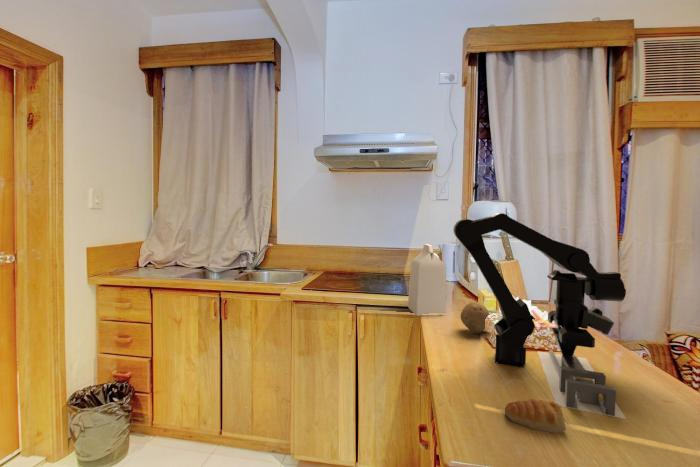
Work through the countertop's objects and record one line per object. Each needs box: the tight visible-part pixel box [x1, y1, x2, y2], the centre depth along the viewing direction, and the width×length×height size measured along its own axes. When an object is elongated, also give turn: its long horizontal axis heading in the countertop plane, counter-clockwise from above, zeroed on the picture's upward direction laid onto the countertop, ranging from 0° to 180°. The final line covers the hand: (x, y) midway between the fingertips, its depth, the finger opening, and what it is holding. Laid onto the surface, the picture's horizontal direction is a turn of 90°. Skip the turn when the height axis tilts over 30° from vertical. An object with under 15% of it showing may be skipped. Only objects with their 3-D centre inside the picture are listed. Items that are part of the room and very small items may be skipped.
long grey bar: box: [561, 354, 599, 406], centre depth 73 cm, size 3×17×3 cm, turn 159°
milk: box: [407, 243, 448, 317], centre depth 131 cm, size 12×12×26 cm
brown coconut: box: [460, 301, 491, 334], centre depth 107 cm, size 9×9×10 cm
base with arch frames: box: [536, 349, 627, 420], centre depth 76 cm, size 11×28×5 cm, turn 157°
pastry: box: [504, 398, 567, 434], centre depth 61 cm, size 9×7×4 cm
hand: (567, 361), depth 83 cm, fingers closed
